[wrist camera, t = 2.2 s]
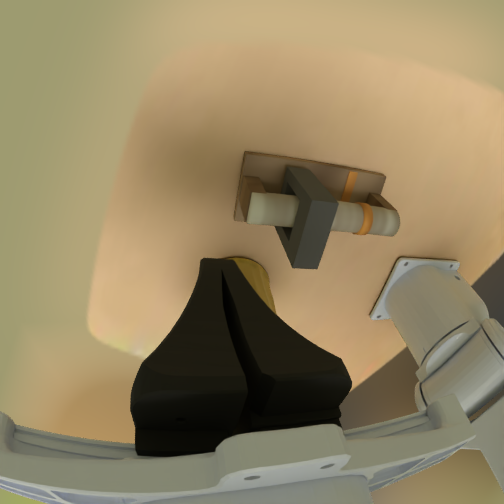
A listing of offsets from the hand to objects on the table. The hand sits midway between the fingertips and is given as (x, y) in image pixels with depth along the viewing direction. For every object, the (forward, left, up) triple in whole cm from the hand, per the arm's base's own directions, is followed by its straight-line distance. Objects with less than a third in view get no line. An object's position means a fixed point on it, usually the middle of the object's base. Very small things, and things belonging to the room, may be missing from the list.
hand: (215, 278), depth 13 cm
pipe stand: (-8, 0, -10) cm, 13 cm away
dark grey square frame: (-6, 0, -9) cm, 11 cm away
